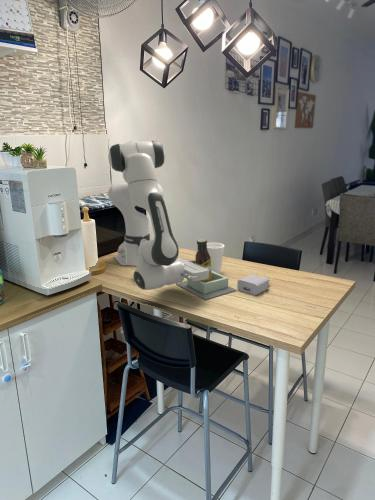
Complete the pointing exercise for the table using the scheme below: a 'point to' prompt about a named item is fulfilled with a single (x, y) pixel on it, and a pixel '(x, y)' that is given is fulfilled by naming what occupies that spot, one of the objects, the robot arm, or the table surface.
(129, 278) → the table surface
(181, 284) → the mat
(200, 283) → the bottle holder
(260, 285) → the charger
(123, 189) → the robot arm
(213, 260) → the foam cup
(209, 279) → the sauce bottle
